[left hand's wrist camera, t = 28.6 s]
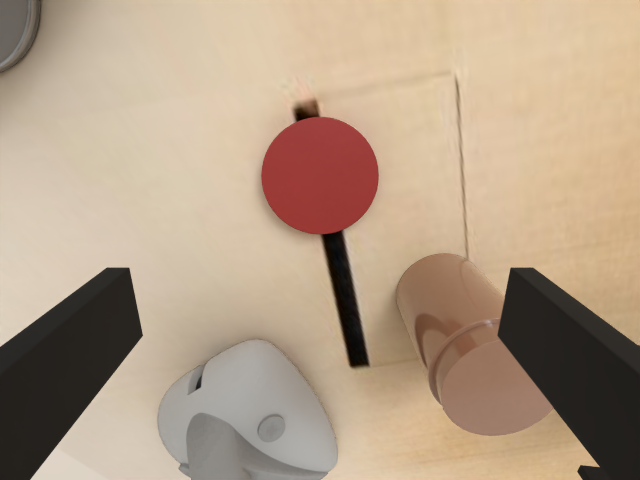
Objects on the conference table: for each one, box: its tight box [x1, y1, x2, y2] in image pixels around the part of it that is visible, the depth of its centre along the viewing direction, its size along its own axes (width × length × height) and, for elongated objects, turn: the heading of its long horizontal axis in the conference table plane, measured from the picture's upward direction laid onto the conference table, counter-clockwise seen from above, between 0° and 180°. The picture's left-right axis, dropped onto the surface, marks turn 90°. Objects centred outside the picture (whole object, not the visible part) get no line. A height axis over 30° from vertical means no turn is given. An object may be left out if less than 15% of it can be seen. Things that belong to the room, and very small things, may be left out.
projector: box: [157, 339, 338, 480], centre depth 40 cm, size 22×23×15 cm
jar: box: [396, 254, 553, 436], centre depth 35 cm, size 10×10×15 cm
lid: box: [262, 117, 378, 234], centre depth 36 cm, size 11×11×2 cm
